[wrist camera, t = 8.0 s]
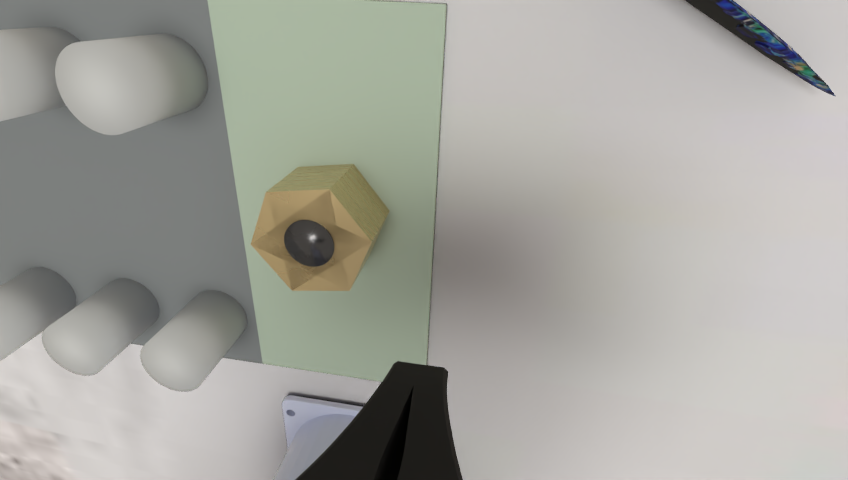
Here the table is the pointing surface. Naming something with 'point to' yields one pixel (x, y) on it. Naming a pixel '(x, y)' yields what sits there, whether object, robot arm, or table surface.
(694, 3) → the knife
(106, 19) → the spacer board
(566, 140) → the table surface
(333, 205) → the nut
